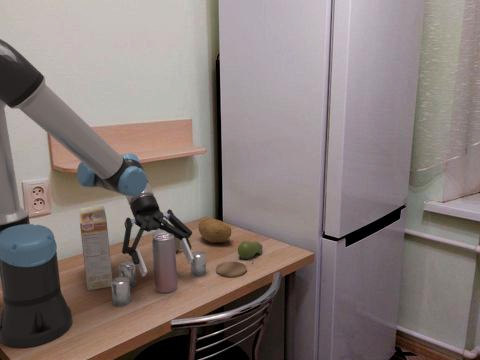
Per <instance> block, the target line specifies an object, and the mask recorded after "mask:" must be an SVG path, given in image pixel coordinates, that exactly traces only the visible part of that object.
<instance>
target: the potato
mask: <svg viewBox="0 0 480 360" xmlns="http://www.w3.org/2000/svg"><path fill="white" fill-rule="evenodd" d="M198 221H199V220H198ZM197 227H198V232H199V234H200V235H201V238H203V239H204V240H206V241H208V242H209V243H212V244H215V243H224V242H226V241H227V240H228V239H230V237H231V236H232V232H233V231H232V228H231V226H230V225H229V224H228V223H226V222H224V221H222V220H219V219H215V218H212V217H204V218H202V219H200V221H199V222H198V225H197Z"/></svg>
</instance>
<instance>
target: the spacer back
mask: <svg viewBox="0 0 480 360" xmlns="http://www.w3.org/2000/svg"><path fill="white" fill-rule="evenodd" d="M118 273H119V274H118V275H119V276H118V277H127V278H129V286H130V289H131V288H134V287H136V286H137V275H136V265H135V264H134V263H133V260H132V261H131V260H127V261H123V262H120V263H119V264H118Z"/></svg>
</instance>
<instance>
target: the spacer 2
mask: <svg viewBox="0 0 480 360" xmlns="http://www.w3.org/2000/svg"><path fill="white" fill-rule="evenodd" d="M191 253H192V255H193V257H194V259H193V260H192V262H191V263H190V273H191V275H192V276H193V277H199V278H200V277H204V276H205V275H206V274H207V255H206V252H204V251H201V250H200V251H193V252H191Z"/></svg>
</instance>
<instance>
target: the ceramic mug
mask: <svg viewBox="0 0 480 360" xmlns="http://www.w3.org/2000/svg"><path fill="white" fill-rule="evenodd" d="M160 233H168V232H166V231H164V230H161V229H159V228H158V230H154V232H153V235H152V237H153V236H154V235H156V234H160ZM174 239H175V252H177V251H178V250H179V249H180V250H183V249H182V247H181V245H180V242H181V240H179V239H178V238H176V237H174Z"/></svg>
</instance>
